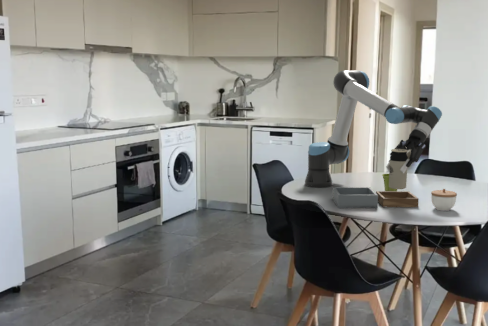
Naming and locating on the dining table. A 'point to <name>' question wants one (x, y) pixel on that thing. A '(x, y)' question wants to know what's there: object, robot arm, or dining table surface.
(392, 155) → the travel mug
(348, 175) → the dining table surface
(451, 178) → the dining table surface
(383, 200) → the walnut frame
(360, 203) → the slate bin
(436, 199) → the lidded jar
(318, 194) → the dining table surface
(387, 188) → the plant pot
